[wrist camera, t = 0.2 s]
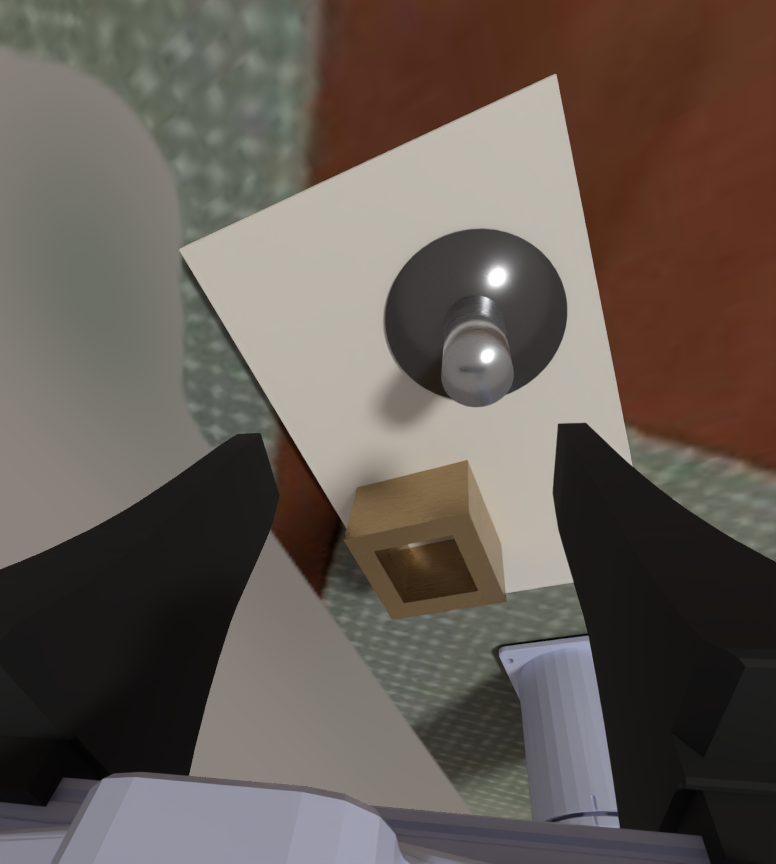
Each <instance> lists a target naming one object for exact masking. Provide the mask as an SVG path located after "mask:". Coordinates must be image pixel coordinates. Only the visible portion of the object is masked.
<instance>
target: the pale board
mask: <svg viewBox="0 0 776 864" xmlns="http://www.w3.org/2000/svg"><path fill="white" fill-rule="evenodd" d="M479 228H485V229H496V230H500V231H504V232H509V233H511V234H514V235H516V236H519V237H521V238H523V239H524V240H526V241H528V242H530V243H531V244H533V245H534V246H535V247H536V248H538V249H539V250H540V251H541V252H542V253H543V254H544V255H545V256H546V257H547V258H548V259H549V260H550V262H551V263H552V265H553V266H554V267H555V269H556V270H557V272H558V275H559V277H560V279H561V281H562V283H563V287H564V290H565V293H566V299H567V322H566V329H565V332H564V336H563V339H562V341H561V344H560V346H559V348H558V350H557V352H556V354H555V355H554V357H553V359H552V360H551V361H550V363H549V364H548V365H547V367H546V368H545V369H544V370H543V371H542V372H541V373H540V374H539V375H538V376H537V377H536V378H534V379H533V380H532V381H531V382H529V383H528V384H526V385H525V386H523V387H521V388H520V389H518V390H516V391H514V392H512V393H510V394H507V395H505V396H504V397H503V398H502V399H500V400H499V401H497V402H496V403H493V404H491V405H488V406H484V407H468V406H464V405H462V404H459V403H457V402H456V401H454V400H453V399H450V398H446V397H443V396H440V395H437V394H435V393H433V392H431V391H429V390H427V389H425V388H424V387H422V386H420V385H419V384H417V383H416V382H415V381H414V380H413V379H412V378H410V377H409V376H408V375H407V373H406V372H405V371H404V370H403V369H402V368H401V366H400V365H399V363H398V362H397V360H396V359H395V357H394V355H393V353H392V351H391V348H390V345H389V342H388V338H387V334H386V326H385V313H386V305H387V300H388V296H389V293H390V291H391V288H392V285H393V283H394V281H395V279H396V277H397V275H398V274H399V272H400V271H401V269H402V268H403V266H404V265H405V264H406V263H407V262H408V261H409V259H410V258H411V257H412V256H413V255H414V254H415V253H417V252H418V251H419V250H420V249H421V248H423V247H424V246H426V245H427V244H429V243H430V242H432V241H434V240H436V239H438V238H440V237H442V236H444V235H447V234H450V233H453V232H456V231H461V230H467V229H479ZM179 251H180V252H181V254H182V256H183V257H184V259H185V261H186V262H187V264H188V266H189V267H190V269H191V271H192V272H193V274H194V276H195V277H196V279H197V281H198V282H199V284H200V286H201V287H202V289H203V291H204V292H205V294H206V296H207V297H208V299H209V301H210V302H211V304H212V306H213V307H214V309H215V311H216V312H217V314H218V316H219V317H220V319H221V321H222V322H223V324H224V326H225V327H226V329H227V331H228V332H229V334H230V336H231V337H232V339H233V341H234V342H235V344H236V346H237V347H238V349H239V351H240V352H241V354H242V356H243V357H244V359H245V360H246V362H247V364H248V365H249V367H250V369H251V370H252V372H253V374H254V375H255V377H256V379H257V380H258V382H259V384H260V385H261V387H262V389H263V390H264V392H265V394H266V395H267V397H268V399H269V400H270V402H271V404H272V405H273V407H274V409H275V410H276V412H277V414H278V415H279V417H280V419H281V420H282V422H283V424H284V425H285V427H286V429H287V430H288V432H289V434H290V435H291V437H292V439H293V440H294V442H295V444H296V445H297V447H298V449H299V450H300V452H301V454H302V455H303V457H304V459H305V460H306V462H307V464H308V465H309V467H310V469H311V470H312V472H313V474H314V475H315V477H316V479H317V480H318V482H319V484H320V485H321V487H322V489H323V490H324V492H325V494H326V495H327V497H328V499H329V500H330V502H331V504H332V505H333V507H334V509H335V510H336V512H337V514H338V515H339V517H340V519H341V520H342V522H343V524H344V525H345V527H346V528H347V524H348V520H349V516H350V513H351V509H352V505H353V501H354V497H355V493H356V489H357V487H361V486H365V485H369V484H373V483H377V482H381V481H385V480H389V479H393V478H397V477H401V476H405V475H409V474H413V473H417V472H421V471H425V470H429V469H433V468H437V467H441V466H445V465H449V464H453V463H457V462H461V461H465V460H468V462H469V465H470V467H471V470H472V472H473V475H474V477H475V480H476V482H477V485H478V487H479V490H480V492H481V495H482V497H483V500H484V502H485V505H486V507H487V510H488V512H489V515H490V517H491V520H492V522H493V525H494V527H495V530H496V532H497V535H498V537H499V540H500V542H501V547H502V558H503V569H504V579H505V590H506V593H510V592H516V591H522V590H528V589H534V588H541V587H547V586H553V585H559V584H565V583H571V582H573V578H572V575H571V572H570V568H569V565H568V562H567V558H566V555H565V552H564V548H563V545H562V541H561V538H560V534H559V531H558V525H557V519H556V513H555V506H554V500H553V493H552V492H553V479H554V467H555V454H556V441H557V429H558V424H559V423H587V424H588V425H589V426H590V427H591V428H592V429H593V430H594V431H595V432H596V433H597V434H598V435H599V436H601V437H602V438H603V439H604V440H605V441H606V442H607V443H608V444H609V445H610V446H611V447H612V448H613V449H614V450H615V451H616V452H617V453H618V454H619V455H620V456H621V457H623V458H624V459H625V460H626V461H627V462H628V463H629V464H630V465H631V466H632V461H631V456H630V451H629V445H628V440H627V435H626V430H625V425H624V420H623V415H622V410H621V404H620V399H619V394H618V389H617V384H616V379H615V374H614V368H613V363H612V358H611V353H610V348H609V343H608V338H607V332H606V327H605V322H604V317H603V312H602V307H601V302H600V297H599V291H598V286H597V281H596V276H595V271H594V266H593V261H592V255H591V250H590V245H589V240H588V235H587V230H586V225H585V220H584V214H583V209H582V204H581V199H580V194H579V189H578V184H577V178H576V173H575V168H574V163H573V158H572V153H571V148H570V142H569V137H568V132H567V127H566V122H565V117H564V112H563V107H562V101H561V96H560V91H559V86H558V81H557V76H556V74H554V75H551V76H549V77H547V78H544V79H542V80H540V81H538V82H536V83H534V84H532V85H529V86H527V87H525V88H523V89H521V90H519V91H516V92H514V93H512V94H510V95H508V96H506V97H504V98H501V99H499V100H497V101H495V102H493V103H491V104H489V105H486V106H484V107H482V108H480V109H478V110H476V111H474V112H471V113H469V114H467V115H465V116H463V117H461V118H458V119H456V120H454V121H452V122H450V123H448V124H446V125H443V126H441V127H439V128H437V129H435V130H433V131H431V132H428V133H426V134H424V135H422V136H420V137H418V138H416V139H413V140H411V141H409V142H407V143H405V144H403V145H400V146H398V147H396V148H394V149H392V150H390V151H388V152H385V153H383V154H381V155H379V156H377V157H375V158H373V159H370V160H368V161H366V162H364V163H362V164H360V165H358V166H355V167H353V168H351V169H349V170H347V171H345V172H342V173H340V174H338V175H336V176H334V177H332V178H330V179H327V180H325V181H323V182H321V183H319V184H317V185H315V186H312V187H310V188H308V189H306V190H304V191H302V192H300V193H297V194H295V195H293V196H291V197H289V198H287V199H284V200H282V201H280V202H278V203H276V204H274V205H272V206H269V207H267V208H265V209H263V210H261V211H259V212H257V213H254V214H252V215H250V216H248V217H246V218H244V219H242V220H239V221H237V222H235V223H233V224H231V225H229V226H226V227H224V228H222V229H220V230H218V231H216V232H214V233H211V234H209V235H207V236H205V237H203V238H201V239H199V240H196V241H194V242H192V243H190V244H188V245H186V246H184V247H182V248H181V249H179ZM632 467H633V466H632ZM451 539H454V537H453V535H451V536H446V537H441V538H436V539H432V540H427V541H422V542H417V543H412V544H408V545H409V547H410V548H412V547H417V546H421V545H426V544H431V543H436V542H441V541H446V540H451Z"/></svg>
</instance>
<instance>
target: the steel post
mask: <svg viewBox="0 0 776 864" xmlns="http://www.w3.org/2000/svg"><path fill="white" fill-rule="evenodd" d="M566 322H567V299H566V293H565V290H564V287H563V283H562V281H561V279H560V277H559V275H558V272H557V270H556V269H555V267H554V266H553V265H552V263H551V262H550V260H549V259H548V258H547V257H546V256H545V255H544V254H543V253H542V252H541V251H540V250H539V249H538V248H536V247H535V246H534V245H533V244H531V243H530V242H528V241H526V240H524V239H523V238H521V237H519V236H516V235H514V234H511V233H509V232H504V231H500V230H496V229H485V228H479V229H467V230H461V231H456V232H453V233H450V234H447V235H444V236H442V237H440V238H438V239H436V240H434V241H432V242H430V243H429V244H427V245H426V246H424V247H423V248H421V249H420V250H419V251H418V252H417V253H415V254H414V255H413V256H412V257H411V258H410V259H409V261H408V262H407V263H406V264H405V265H404V266H403V268H402V269H401V271H400V272H399V274H398V275H397V277H396V279H395V281H394V283H393V285H392V288H391V291H390V293H389V296H388V300H387V305H386V313H385V326H386V334H387V338H388V342H389V345H390V348H391V351H392V353H393V355H394V357H395V359H396V360H397V362H398V363H399V365H400V366H401V368H402V369H403V370H404V371H405V372H406V373H407V375H408V376H409V377H410V378H412V379H413V380H414V381H415V382H416V383H417V384H419V385H420V386H422V387H424V388H425V389H427V390H429V391H431V392H433V393H435V394H437V395H440V396H443V397H446V398H450V399H453V400H454V401H456V402H457V403H459V404H462V405H464V406H468V407H484V406H488V405H491V404H493V403H496V402H497V401H499V400H500V399H502V398H503V397H504V396H505V395H507V394H510V393H512V392H514V391H516V390H518V389H520V388H521V387H523V386H525V385H526V384H528V383H529V382H531V381H532V380H533V379H534V378H536V377H537V376H538V375H539V374H540V373H541V372H542V371H543V370H544V369H545V368H546V367H547V365H548V364H549V363H550V361H551V360H552V359H553V357H554V355H555V354H556V352H557V350H558V348H559V346H560V344H561V341H562V339H563V336H564V332H565V329H566Z"/></svg>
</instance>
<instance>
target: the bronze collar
mask: <svg viewBox="0 0 776 864" xmlns="http://www.w3.org/2000/svg"><path fill="white" fill-rule="evenodd" d="M451 535H453V537H454V539H451V540H446V541H441V542H436V543H431V544H426V545H421V546H417V547H412V548H410V547H409V545H408V544H412V543H417V542H422V541H427V540H432V539H436V538H441V537H446V536H451ZM343 540H344V542H345V543H346V545H347V547H348V548H349V550H350V552H351V553H352V555H353V556H354V558H355V560H356V561H357V563H358V565H359V566H360V568H361V569H362V571H363V573H364V574H365V576H366V578H367V579H368V581H369V582H370V584H371V586H372V587H373V589H374V591H375V592H376V594H377V595H378V597H379V599H380V600H381V602H382V604H383V605H384V607H385V609H386V610H387V612H388V613H389V615H390V617H391V618H392V619H399V618H405V617H411V616H418V615H424V614H431V613H437V612H443V611H450V610H456V609H462V608H469V607H475V606H482V605H488V604H494V603H501V602H507V601H506V590H505V579H504V569H503V558H502V547H501V542H500V540H499V537H498V535H497V532H496V530H495V527H494V525H493V522H492V520H491V517H490V515H489V512H488V510H487V507H486V505H485V502H484V500H483V497H482V495H481V492H480V490H479V487H478V485H477V482H476V480H475V477H474V475H473V472H472V470H471V467H470V465H469V462H468V460H465V461H461V462H457V463H453V464H449V465H445V466H441V467H437V468H433V469H429V470H425V471H421V472H417V473H413V474H409V475H405V476H401V477H397V478H393V479H389V480H385V481H381V482H377V483H373V484H369V485H365V486H361V487H357V489H356V493H355V497H354V501H353V505H352V509H351V513H350V516H349V520H348V524H347V528H346V532H345V536H344V539H343Z"/></svg>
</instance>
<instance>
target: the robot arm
mask: <svg viewBox="0 0 776 864" xmlns="http://www.w3.org/2000/svg"><path fill="white" fill-rule="evenodd" d="M552 493H553V500H554V506H555V513H556V519H557V525H558V531H559V534H560V538H561V541H562V545H563V548H564V552H565V555H566V558H567V562H568V565H569V568H570V572H571V575H572V578H573V582H574V585H575V589H576V592H577V595H578V599H579V602H580V605H581V609H582V612H583V616H584V620H585V624H586V628H587V632H588V636H580V637H573V638H565V639H557V640H549V641H542V642H534V643H526V644H519V645H511V646H504V647H501V648H500V649H499V658H500V660H501V662H502V664H503V666H504V668H505V670H506V672H507V674H508V676H509V679H510V681H511V683H512V685H513V687H514V689H515V691H516V693H517V695H518V697H519V700H520V704H521V714H522V724H523V734H524V744H525V754H526V764H527V774H528V784H529V794H530V804H531V814H532V820H523V819H512V818H501V817H490V816H479V815H468V814H457V813H446V812H435V811H424V810H413V809H402V808H392V807H380V806H370V805H367V804H365V803H362V802H360V801H358V800H356V799H354V798H352V797H350V796H348V795H345V794H342V793H337V792H332V791H327V790H322V789H317V788H312V787H307V786H297V785H285V784H275V783H274V784H273V783H263V782H252V781H239V780H228V779H216V778H206V777H194V776H189V773H190V768H191V764H192V759H193V755H194V750H195V745H196V741H197V738H198V734H199V730H200V726H201V722H202V718H203V714H204V710H205V706H206V702H207V698H208V695H209V691H210V688H211V684H212V681H213V678H214V674H215V670H216V667H217V664H218V660H219V657H220V654H221V651H222V647H223V644H224V641H225V638H226V635H227V632H228V628H229V626H230V622H231V620H232V617H233V615H234V612H235V610H236V607H237V604H238V602H239V600H240V598H241V595H242V593H243V590H244V589H245V586H246V584H247V582H248V580H249V577H250V575H251V573H252V571H253V568H254V566H255V564H256V562H257V559H258V557H259V555H260V553H261V550H262V548H263V546H264V543H265V541H266V539H267V536H268V534H269V531H270V529H271V525H272V522H273V519H274V515H275V511H276V507H277V503H278V500H279V493H278V489H277V486H276V483H275V479H274V476H273V473H272V469H271V466H270V463H269V459H268V456H267V453H266V450H265V446H264V443H263V440H262V436H261V433H252V434H237V435H235V436H234V437H232V438H230V439H229V440H227V441H226V442H224V443H223V444H221V445H220V446H218V447H217V448H216V449H214V450H213V451H211V452H210V453H209V454H207V455H206V456H204V457H203V458H202V459H200V460H199V461H197V462H196V463H195V464H193V465H192V466H191V467H189V468H188V469H186V470H185V471H183V472H182V473H181V474H179V475H178V476H177V477H175V478H174V479H172V480H171V481H169V482H168V483H166V484H165V485H163V486H162V487H160V488H159V489H157V490H156V491H154V492H153V493H151V494H150V495H148V496H147V497H145V498H143V499H142V500H140V501H139V502H137V503H136V504H134V505H132V506H131V507H129V508H128V509H126V510H124V511H123V512H121V513H119V514H117V515H116V516H114V517H112V518H110V519H108V520H107V521H105V522H103V523H101V524H99V525H98V526H96V527H94V528H92V529H90V530H88V531H86V532H84V533H82V534H80V535H78V536H75V537H73V538H72V539H69V540H67V541H65V542H63V543H61V544H59V545H57V546H55V547H53V548H51V549H48V550H46V551H44V552H42V553H40V554H37V555H35V556H32V557H30V558H28V559H25V560H23V561H21V562H18V563H16V564H13V565H10V566H8V567H6V568H3V569H0V864H776V562H775V561H773V560H771V559H769V558H767V557H765V556H763V555H762V554H760V553H758V552H756V551H754V550H752V549H751V548H749V547H747V546H745V545H743V544H742V543H740V542H738V541H736V540H734V539H733V538H731V537H729V536H728V535H726V534H724V533H723V532H721V531H719V530H718V529H716V528H715V527H713V526H711V525H710V524H708V523H707V522H705V521H704V520H702V519H701V518H699V517H698V516H696V515H695V514H693V513H692V512H690V511H689V510H687V509H686V508H684V507H683V506H681V505H680V504H679V503H677V502H676V501H675V500H673V499H672V498H671V497H669V496H668V495H667V494H665V493H664V492H663V491H662V490H660V489H659V488H658V487H656V486H655V485H654V484H653V483H651V482H650V481H649V480H648V479H646V478H645V477H644V476H643V475H642V474H640V473H639V472H638V471H637V470H636V469H635V468H634V467H632V466H631V465H630V464H629V463H628V462H627V461H626V460H625V459H624V458H623V457H621V456H620V455H619V454H618V453H617V452H616V451H615V450H614V449H613V448H612V447H611V446H610V445H609V444H608V443H607V442H606V441H605V440H604V439H603V438H602V437H601V436H599V435H598V434H597V433H596V432H595V431H594V430H593V429H592V428H591V427H590V426H589V425H588V424H587V423H559V424H558V429H557V441H556V454H555V467H554V479H553V492H552Z"/></svg>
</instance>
